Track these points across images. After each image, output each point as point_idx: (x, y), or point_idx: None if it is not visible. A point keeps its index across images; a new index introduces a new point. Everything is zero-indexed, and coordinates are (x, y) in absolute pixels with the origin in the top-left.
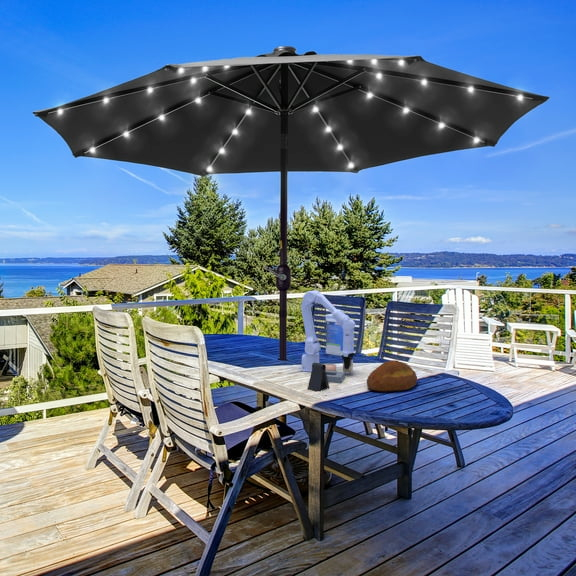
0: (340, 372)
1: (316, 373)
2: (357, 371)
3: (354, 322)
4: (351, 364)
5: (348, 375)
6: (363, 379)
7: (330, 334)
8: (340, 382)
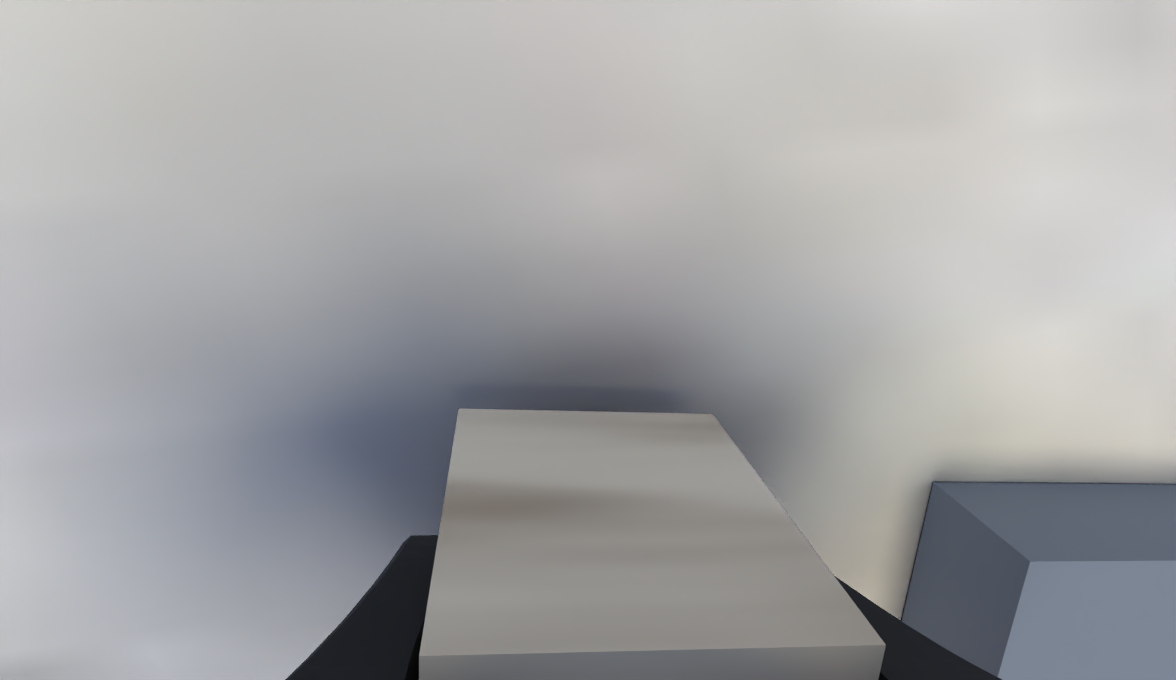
0: (1090, 657)
1: None
2: (113, 280)
3: None
4: (803, 547)
5: None
6: (1050, 17)
7: None
8: None
